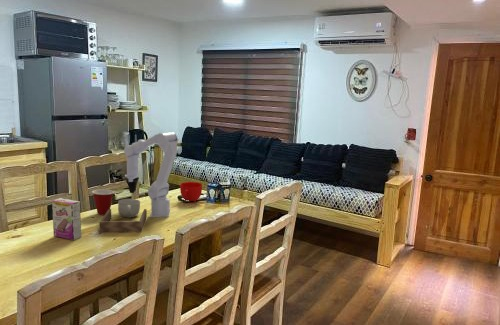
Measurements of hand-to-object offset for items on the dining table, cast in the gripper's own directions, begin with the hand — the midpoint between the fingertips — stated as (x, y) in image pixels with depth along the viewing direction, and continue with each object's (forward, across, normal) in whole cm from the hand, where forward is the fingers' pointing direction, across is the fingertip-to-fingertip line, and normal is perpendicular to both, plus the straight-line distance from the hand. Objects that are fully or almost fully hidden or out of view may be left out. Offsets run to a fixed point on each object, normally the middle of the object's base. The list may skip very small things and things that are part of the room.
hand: (132, 191), depth 211 cm
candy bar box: (+10, +41, -22) cm, 47 cm away
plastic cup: (+10, +8, -14) cm, 18 cm away
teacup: (+10, +14, 0) cm, 17 cm away
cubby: (+9, +26, 0) cm, 28 cm away
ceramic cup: (+10, -13, +30) cm, 35 cm away
